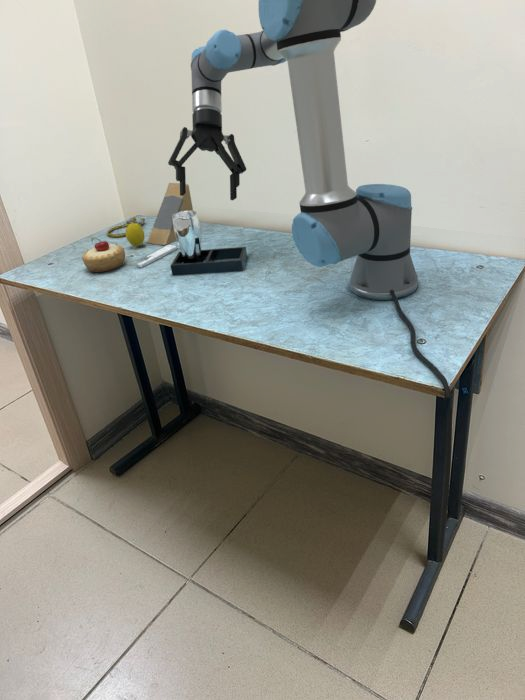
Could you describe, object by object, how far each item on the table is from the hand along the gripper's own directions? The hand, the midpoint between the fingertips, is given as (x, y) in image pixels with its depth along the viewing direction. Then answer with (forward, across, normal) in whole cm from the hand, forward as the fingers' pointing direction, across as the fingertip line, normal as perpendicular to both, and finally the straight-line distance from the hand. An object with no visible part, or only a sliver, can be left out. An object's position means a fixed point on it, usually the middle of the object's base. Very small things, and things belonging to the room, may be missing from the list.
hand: (208, 196), depth 139 cm
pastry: (+15, +22, -30) cm, 40 cm away
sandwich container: (+3, 0, -40) cm, 40 cm away
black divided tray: (+16, -3, -10) cm, 19 cm away
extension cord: (-2, +10, -57) cm, 58 cm away
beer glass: (+17, 0, -12) cm, 21 cm away
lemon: (+7, +11, -39) cm, 41 cm away
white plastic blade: (+12, +8, -27) cm, 31 cm away
